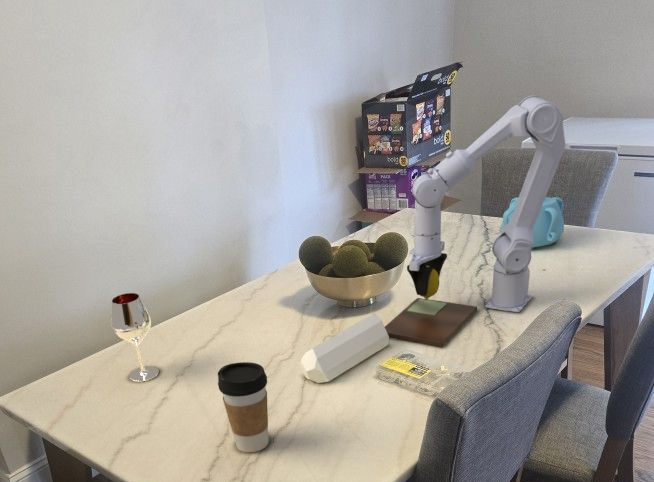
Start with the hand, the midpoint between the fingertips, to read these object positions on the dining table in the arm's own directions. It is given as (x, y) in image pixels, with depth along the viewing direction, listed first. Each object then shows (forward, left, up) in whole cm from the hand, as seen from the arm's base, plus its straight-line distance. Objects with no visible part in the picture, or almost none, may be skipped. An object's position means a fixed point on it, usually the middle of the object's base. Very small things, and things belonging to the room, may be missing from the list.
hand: (427, 289), depth 159 cm
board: (+5, +3, -6) cm, 8 cm away
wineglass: (+51, -43, -6) cm, 68 cm away
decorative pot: (-53, +8, -6) cm, 53 cm away
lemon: (0, 0, -2) cm, 3 cm away
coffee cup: (+62, -5, -6) cm, 63 cm away
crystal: (+28, -5, -6) cm, 30 cm away
